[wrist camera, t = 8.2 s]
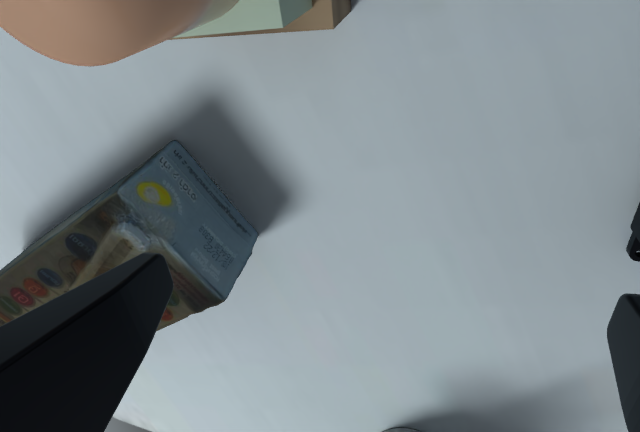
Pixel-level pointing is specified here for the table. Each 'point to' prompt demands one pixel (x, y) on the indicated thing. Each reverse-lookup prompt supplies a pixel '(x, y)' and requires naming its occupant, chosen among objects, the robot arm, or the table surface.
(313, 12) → the base block
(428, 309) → the table surface
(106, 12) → the pink domed cylinder
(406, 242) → the table surface
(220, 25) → the top block
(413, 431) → the house plant
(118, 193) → the beverage carton
